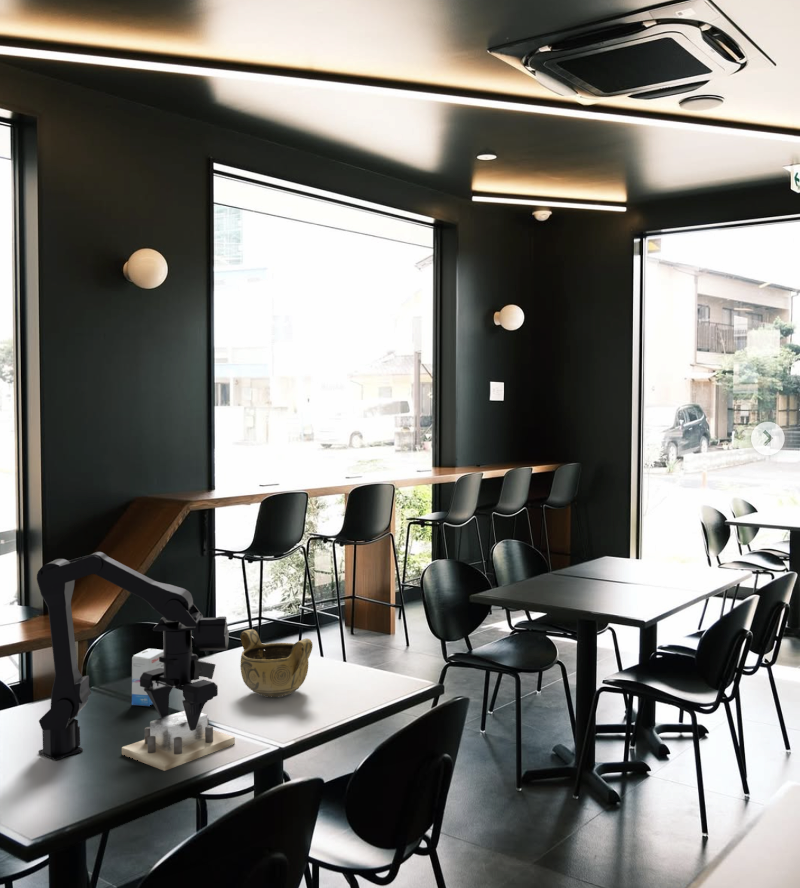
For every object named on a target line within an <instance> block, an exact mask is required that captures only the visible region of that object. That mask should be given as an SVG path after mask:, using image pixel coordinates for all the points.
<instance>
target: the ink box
mask: <svg viewBox="0 0 800 888" xmlns="http://www.w3.org/2000/svg"><path fill="white" fill-rule="evenodd" d="M163 652H164V651H163V649H157V648H147V649H144V650H142V651H140V652H138V653H136V654H133V656H132V657H131V705H132V706H143V707H151V706H152V705H154V704H153V703H152V701H151V699H150V698H149V696H148V694H147V693H146V692H145V691H144V687H141V686H140V677H141V675H142V674H143V672H147V671H151V670H154V669H158V668H163V669H164V663H163V662H159V657H160V656H164V653H163ZM150 705H151V706H150Z"/></svg>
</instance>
